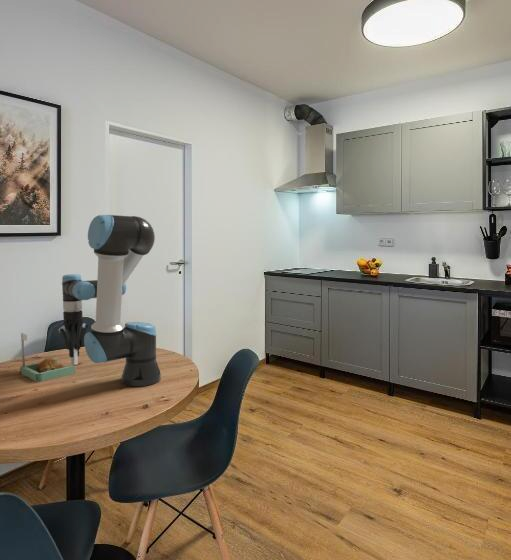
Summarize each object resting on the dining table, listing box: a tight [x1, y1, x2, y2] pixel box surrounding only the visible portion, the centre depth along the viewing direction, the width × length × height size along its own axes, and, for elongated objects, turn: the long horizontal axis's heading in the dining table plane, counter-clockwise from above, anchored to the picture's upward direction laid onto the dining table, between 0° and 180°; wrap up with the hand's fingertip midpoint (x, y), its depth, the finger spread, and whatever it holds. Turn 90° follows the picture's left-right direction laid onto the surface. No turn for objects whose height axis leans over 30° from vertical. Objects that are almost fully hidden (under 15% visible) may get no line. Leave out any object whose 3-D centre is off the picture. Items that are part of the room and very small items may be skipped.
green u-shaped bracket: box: [19, 332, 76, 383], centre depth 172 cm, size 16×15×17 cm
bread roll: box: [36, 357, 64, 373], centre depth 173 cm, size 10×10×8 cm
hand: (74, 363), depth 181 cm, fingers closed
